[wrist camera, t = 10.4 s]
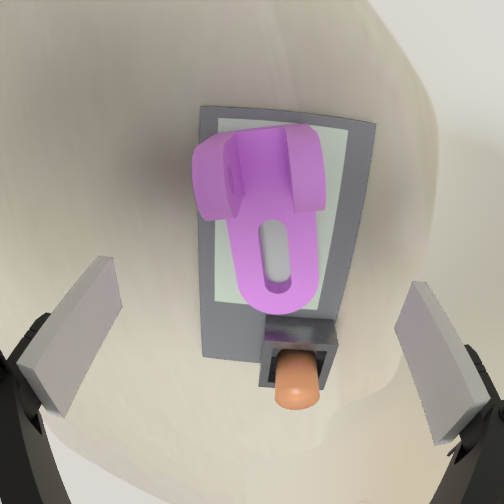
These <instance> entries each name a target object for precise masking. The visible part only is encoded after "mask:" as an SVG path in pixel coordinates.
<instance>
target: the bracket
mask: <svg viewBox="0 0 504 504" xmlns="http://www.w3.org/2000/svg"><path fill="white" fill-rule="evenodd" d="M192 183H193V190H194V196H195V200H196V204H197V207H198V210H199V212H200V215H201V216H202V218H203V219H204V220H205V221H214V220H223V219H226V223H227V229H228V235H229V240H230V246H231V251H232V257H233V262H234V268H235V273H236V279H237V284H238V289H239V291H240V294H241V295H242V297H243V298H244V300H245V301H246V302H247V303H248V304H249V305H250V306H252V307H253V308H255V309H257V310H259V311H261V312H264V313H268V314H278V315H280V314H288V313H292V312H295V311H297V310H299V309H301V308H303V307H304V306H305V305H307V304H308V303H309V302H310V301H311V300H312V298H313V297H314V295H315V293H316V291H317V288H318V283H319V275H318V248H317V227H316V211H320V210H325V205H326V181H325V169H324V161H323V154H322V148H321V143H320V139H319V136H318V134H317V132H316V131H315V130H313V129H312V128H311V127H310V126H309V125H308V124H307V123H302V124H290V125H279V126H269V127H260V128H252V129H244V130H236V131H229V132H222V133H216V134H214V135H213V136H211V137H210V138H208V139H207V140H205V141H204V142H202V143H201V144H199V145H198V146H196V147H195V149H194V152H193V156H192ZM271 219H274V220H278V221H280V222H282V223H283V224H284V225H285V227H286V229H287V235H288V246H289V257H290V269H291V275H290V277H289V278H288V279H287V280H286V281H285V282H282V283H274V282H271V281H270V280H269V279H268V278H267V277H266V275H265V268H264V260H263V253H262V245H261V238H260V230H259V226H260V225H261V224H262V223H263V222H265V221H267V220H271Z"/></svg>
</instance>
